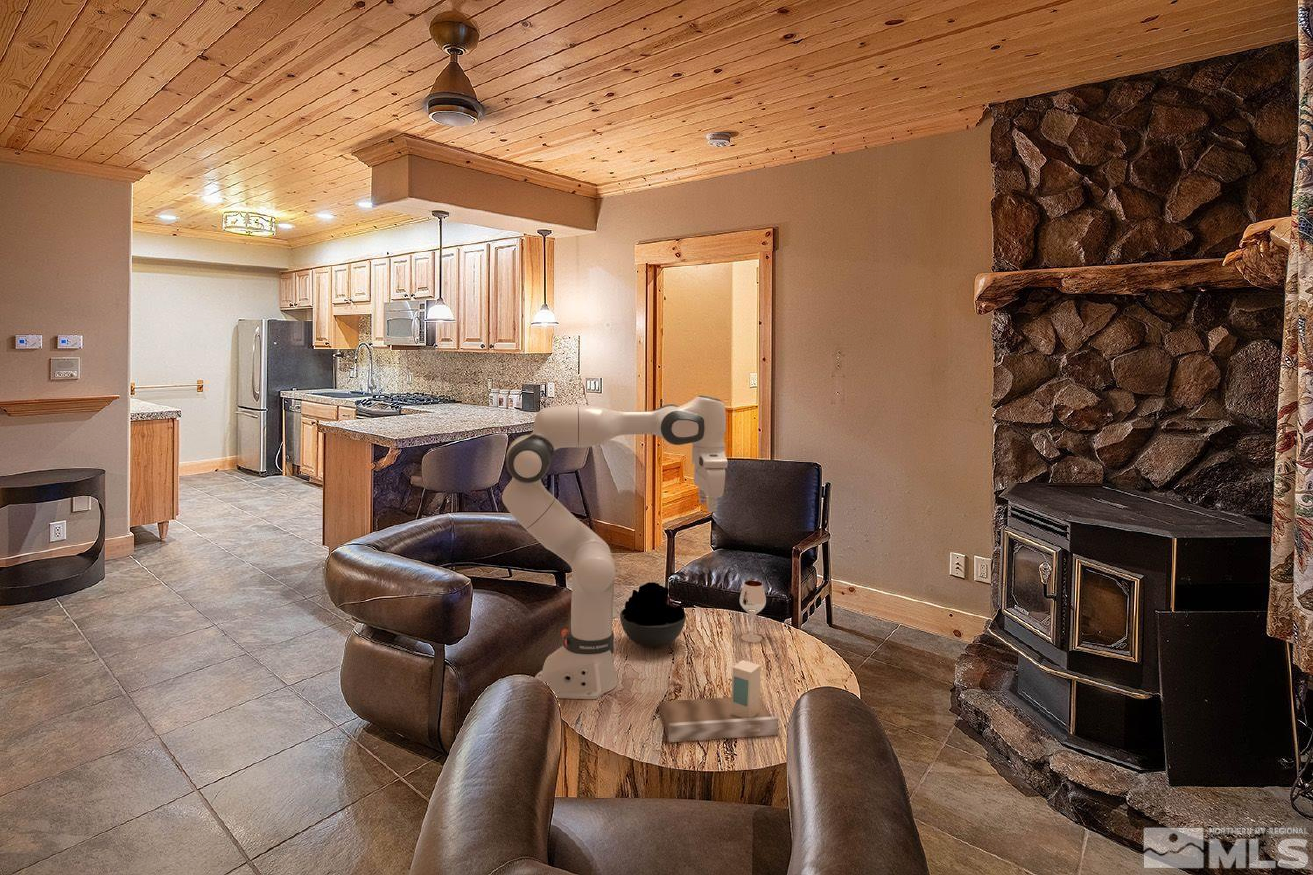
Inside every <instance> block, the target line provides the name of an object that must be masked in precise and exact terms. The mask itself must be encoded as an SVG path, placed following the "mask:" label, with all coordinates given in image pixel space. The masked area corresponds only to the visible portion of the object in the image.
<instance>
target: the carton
mask: <svg viewBox="0 0 1313 875" xmlns="http://www.w3.org/2000/svg"><path fill="white" fill-rule="evenodd" d="M761 667H762V665H761V664H758V663H754V662H751V661H747V660H743V659H742V660H741V661H739V662H738V663H736V664H735V665H733V666H732V673H731V714H733V715H736V716H738V717H741V718H752V717H754V716H755V715H756V714H757V713H758V712H759V697H760V698H761V696H760V695H761V694H760V692H761V670H762V669H761Z"/></svg>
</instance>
